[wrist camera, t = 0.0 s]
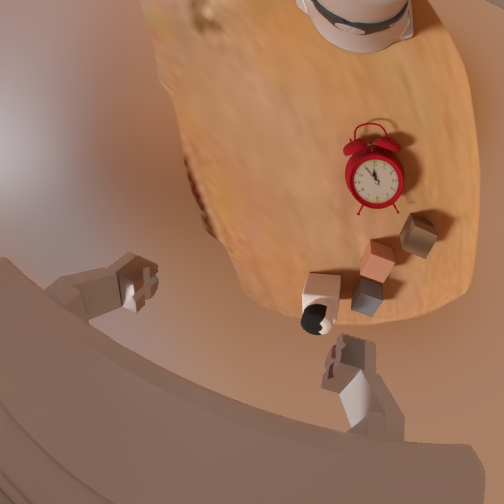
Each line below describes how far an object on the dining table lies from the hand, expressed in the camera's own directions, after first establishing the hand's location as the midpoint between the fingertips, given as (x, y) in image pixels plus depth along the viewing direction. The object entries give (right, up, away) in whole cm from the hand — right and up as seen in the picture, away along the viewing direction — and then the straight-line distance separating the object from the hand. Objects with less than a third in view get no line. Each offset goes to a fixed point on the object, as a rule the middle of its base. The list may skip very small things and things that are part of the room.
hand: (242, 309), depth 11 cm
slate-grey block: (+25, -6, +44) cm, 51 cm away
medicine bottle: (+16, -5, +47) cm, 50 cm away
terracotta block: (+25, +2, +39) cm, 46 cm away
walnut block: (+31, +7, +33) cm, 45 cm away
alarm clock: (+21, +17, +30) cm, 40 cm away
